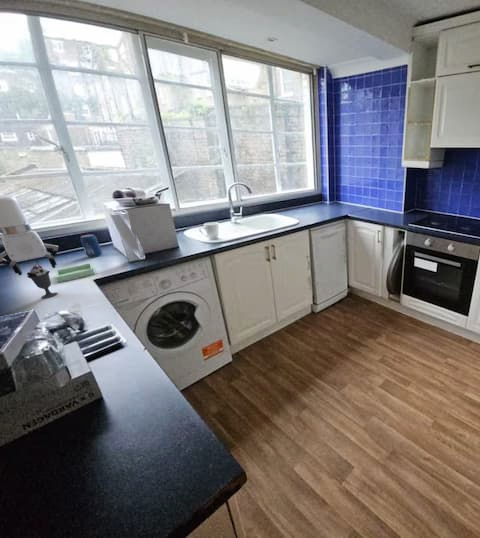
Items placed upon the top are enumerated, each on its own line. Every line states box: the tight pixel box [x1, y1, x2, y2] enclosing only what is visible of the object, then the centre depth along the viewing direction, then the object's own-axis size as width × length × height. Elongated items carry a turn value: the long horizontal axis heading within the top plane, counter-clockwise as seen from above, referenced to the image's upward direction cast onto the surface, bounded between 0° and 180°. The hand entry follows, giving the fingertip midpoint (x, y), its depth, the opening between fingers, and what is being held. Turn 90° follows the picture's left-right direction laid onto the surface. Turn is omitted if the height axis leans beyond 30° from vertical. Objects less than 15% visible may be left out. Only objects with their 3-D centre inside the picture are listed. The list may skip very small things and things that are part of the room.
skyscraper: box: [109, 208, 146, 263], centre depth 156 cm, size 8×8×28 cm
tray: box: [55, 262, 95, 283], centre depth 143 cm, size 13×12×3 cm
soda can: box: [80, 233, 103, 258], centre depth 167 cm, size 7×7×12 cm
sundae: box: [26, 260, 58, 299], centre depth 120 cm, size 7×7×15 cm
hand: (37, 270), depth 119 cm, fingers open, 9 cm apart
